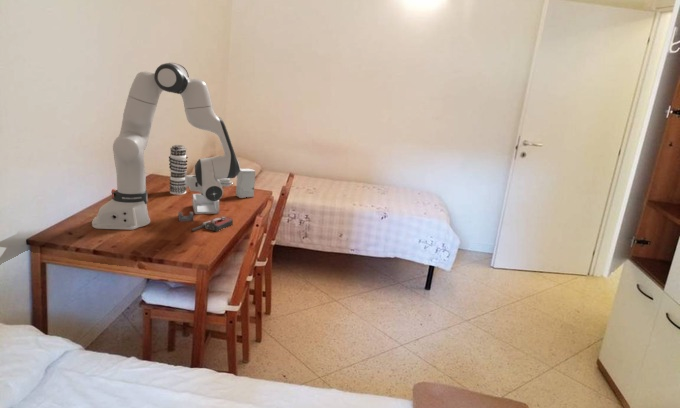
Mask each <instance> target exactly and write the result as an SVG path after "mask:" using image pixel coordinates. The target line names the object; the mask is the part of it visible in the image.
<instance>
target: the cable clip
mask: <svg viewBox="0 0 680 408" xmlns="http://www.w3.org/2000/svg"><path fill="white" fill-rule="evenodd" d="M178 221H179V222H194V211H189V215H183V213H182V211H178Z"/></svg>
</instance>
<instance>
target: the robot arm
mask: <svg viewBox="0 0 680 408" xmlns="http://www.w3.org/2000/svg"><path fill="white" fill-rule="evenodd" d="M162 92H167V93H174V94H177V95H180V96H181V99H182V101H183V108H184V112H185V116H186V120H187V122H188V123H189V125H191V126H192V127H194V128H196V129H199V130H203V131H206V132H207V131H208V132H211V133H214V134H216V135H217V136H218V138H219V141H220V144H221V147H222V149H223V150H222V151H223V152H224V154H223V155H220V156H212V157H204V158H199V159H198V160H197V161H196V163H195V165H194V174H186V176H185V184H186V188H188V189H189V191H191V192H196V193H198V192H199V193H200V194H201V193H203V195H204V197H205V198H206V199H207V200H209V201H217V200H219V201H220V199H222V197H223V195H224V188H223V187H225V188H226V187H230V186H231V185H233V183H234V181H232V179H235V178H237V175H238V174H239V172H240V169H241V164H240V162H239V160H238V158H237V156H236V153H235V150H234V147H233V144H232V141H231V138H230V135H229V133H228V129H227V127H226V124H225V122H224V119H222V118H221V117H219V116H218V115H217V114H216V113H215V110H214V107H213V103H212V97H211V94H210V93H211V92H210V91H209V87H208V85H207V83H206V82H205V81H204V80H202V79H199V78H190V77H189V73H188V70H187V69H186V68H185V67H184V66H183V65H181V64H179V63H177V62H166V63H162V64H160V65H159V66H158V67H156V69H155V71H154V72H153V73H152V72H149V71H140V72H138V73H137V74H136V76H135V77H134V79H133V82H132V84H131V85H130V89H129V92H128V95H127V99H126V102H125V106H124V110H123V114H122V121H121V127H120V130H119V131H120V132H119V135H118V136H117V137H116V138H115V139H114V141H113V143H112V151H113V152H112V153H113V158H114V159H113V160H114V165H115V171H116V172H115V173H116V188H113V189H111V200H109V201H107V202H106V203H105V204H103V205H102V206H101V207H100V208H98V209H99V210H98V212H97V215H96V216H95V217H94V218H93V219H92V221H91V226H92V227H93V229H96V230H97V229H98V230H128V231H129V230H131V231H132V230H136V229H138V228H142V227H145V226H148V225H149V224H151V219H150V216H149V212H148V207H147V206H148V205H147V204H148V191H147V188H146V187H147V186H146V185H147V181H146V180H147V179H146V177H147V176H146V169H145V159H144V157H145V156H144V152H145V150H146V148H147V145H148V142H149V137H150V133H151V129H152V124H153V120H154V117H155V113H156V110H157V107H158V103H159V99H160V96H161V94H162Z"/></svg>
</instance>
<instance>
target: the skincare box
mask: <svg viewBox="0 0 680 408" xmlns="http://www.w3.org/2000/svg"><path fill="white" fill-rule="evenodd" d="M255 183H256V170H254V169H252V168H240V172H239V174H238V175H237V176H236V188H235V189H236V190H235V195H236V197H238V198H239V199H244V198H246V197H247V198H254V195H255Z"/></svg>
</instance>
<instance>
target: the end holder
mask: <svg viewBox="0 0 680 408" xmlns="http://www.w3.org/2000/svg"><path fill="white" fill-rule="evenodd" d="M192 209H193V213H194V215H210V214H212V215H213V214H215V215H216V214H220V199H219V200H217V201H209V200H207V199H206V198H205V197H204V195H201V193H192Z"/></svg>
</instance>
